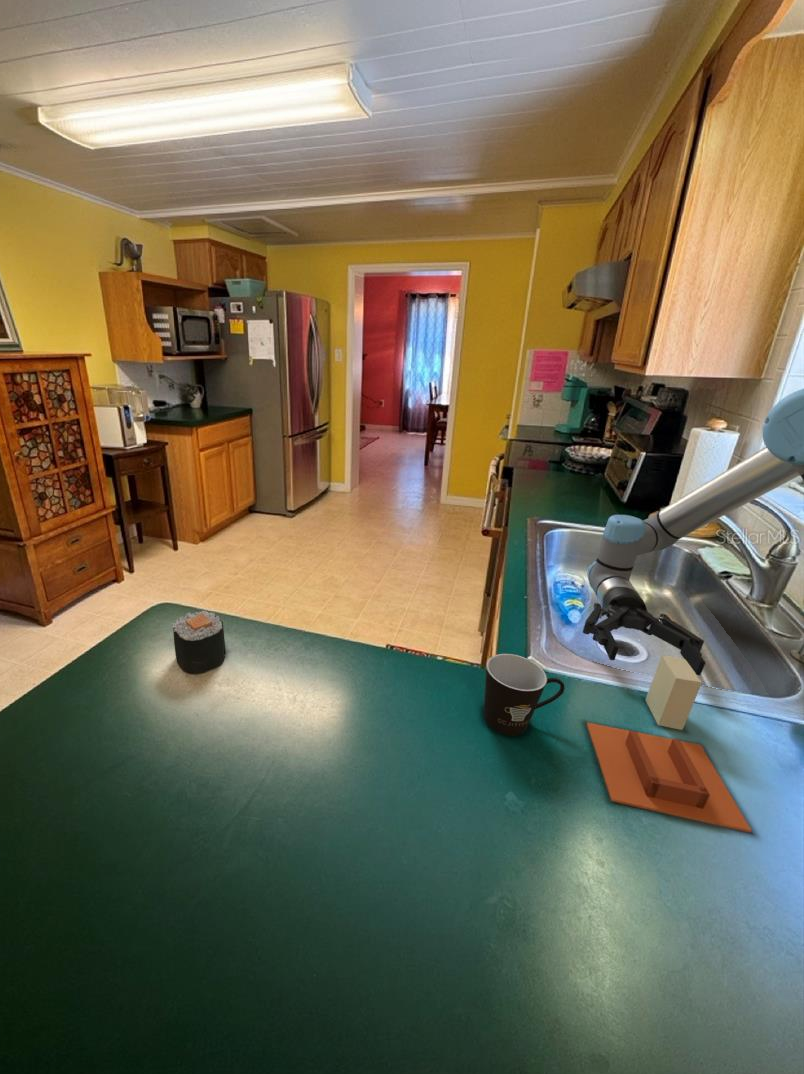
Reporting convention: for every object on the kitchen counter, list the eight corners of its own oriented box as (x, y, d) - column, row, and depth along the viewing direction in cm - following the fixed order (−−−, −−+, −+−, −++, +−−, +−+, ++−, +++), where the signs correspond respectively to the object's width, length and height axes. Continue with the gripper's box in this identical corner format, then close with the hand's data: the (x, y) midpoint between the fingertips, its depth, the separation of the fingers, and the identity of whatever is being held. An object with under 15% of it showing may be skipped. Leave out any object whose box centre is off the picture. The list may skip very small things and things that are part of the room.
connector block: (666, 708, 79) (685, 658, 75) (680, 734, 74) (702, 682, 70) (643, 703, 80) (661, 654, 76) (656, 729, 74) (676, 678, 71)
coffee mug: (471, 733, 71) (482, 679, 68) (480, 698, 79) (490, 648, 75) (553, 760, 67) (569, 705, 64) (554, 720, 75) (569, 669, 71)
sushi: (210, 640, 89) (207, 603, 86) (232, 661, 84) (231, 623, 81) (168, 656, 84) (164, 617, 81) (189, 680, 79) (185, 639, 76)
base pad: (698, 750, 71) (706, 731, 69) (748, 837, 58) (760, 816, 57) (585, 728, 74) (590, 709, 72) (609, 806, 61) (617, 785, 60)
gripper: (679, 627, 99) (730, 693, 80) (555, 607, 104) (574, 665, 85) (691, 596, 96) (746, 656, 77) (563, 577, 101) (584, 629, 82)
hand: (656, 661), depth 81 cm, fingers open, 13 cm apart
